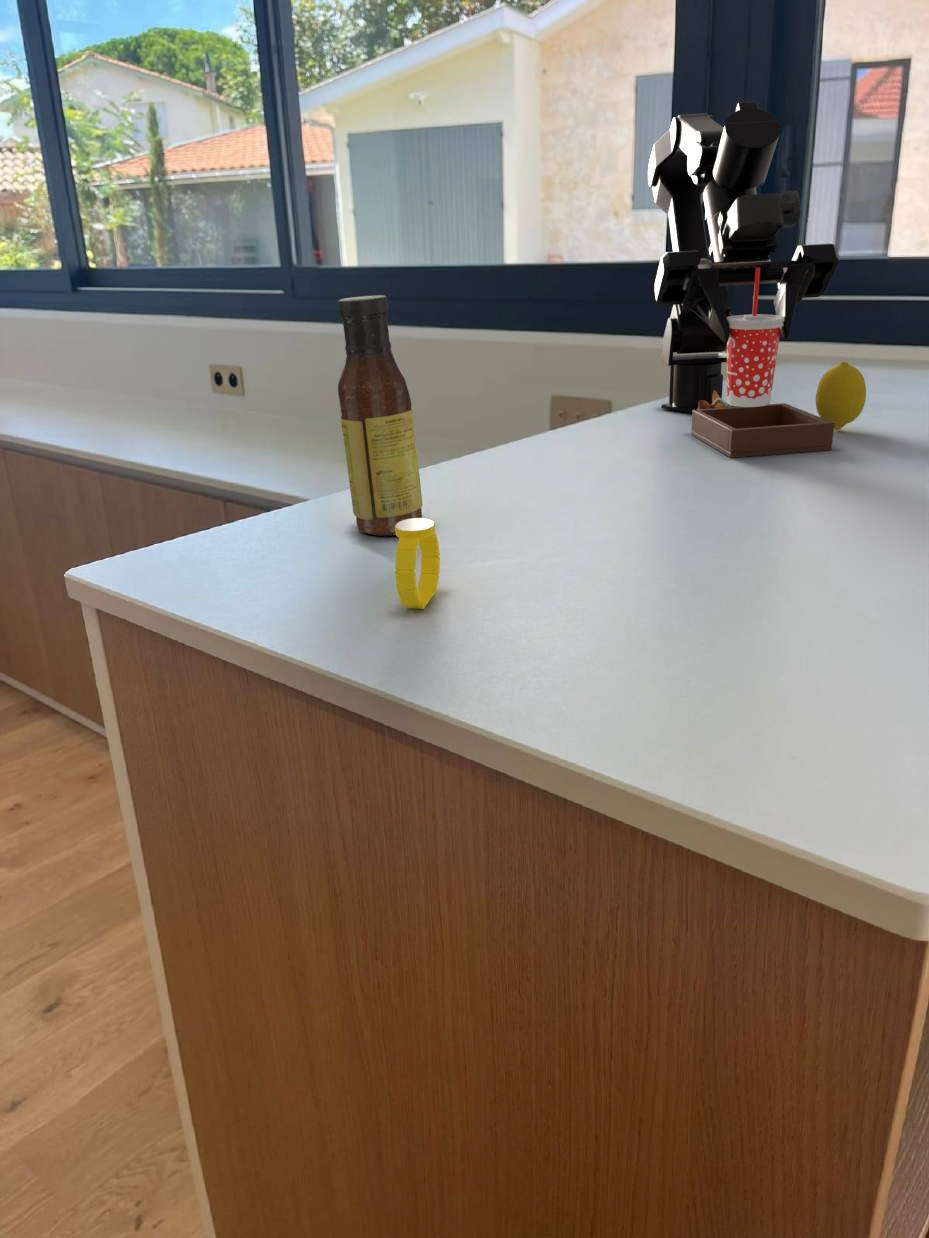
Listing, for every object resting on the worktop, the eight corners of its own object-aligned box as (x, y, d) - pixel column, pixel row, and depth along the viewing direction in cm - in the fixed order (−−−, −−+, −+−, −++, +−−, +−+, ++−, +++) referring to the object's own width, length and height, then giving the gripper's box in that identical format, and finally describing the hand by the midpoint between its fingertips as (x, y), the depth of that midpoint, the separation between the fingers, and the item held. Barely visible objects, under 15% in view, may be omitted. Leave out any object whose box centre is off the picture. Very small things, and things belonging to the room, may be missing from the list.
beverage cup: (724, 396, 108) (732, 266, 102) (780, 398, 106) (791, 264, 100) (714, 407, 103) (723, 270, 97) (773, 409, 100) (785, 269, 95)
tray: (691, 434, 115) (692, 409, 114) (783, 427, 116) (785, 403, 115) (730, 458, 103) (732, 430, 102) (831, 450, 104) (834, 423, 103)
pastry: (765, 411, 125) (767, 384, 124) (744, 429, 116) (746, 400, 114) (712, 409, 129) (714, 382, 127) (688, 427, 119) (689, 398, 118)
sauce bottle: (433, 519, 87) (419, 292, 79) (408, 540, 82) (389, 299, 74) (369, 516, 89) (348, 294, 81) (339, 536, 84) (315, 301, 76)
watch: (415, 586, 71) (410, 510, 69) (450, 588, 71) (446, 511, 68) (389, 616, 66) (381, 535, 64) (426, 618, 65) (421, 536, 63)
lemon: (869, 434, 111) (877, 364, 107) (821, 436, 111) (828, 366, 108) (852, 424, 116) (859, 357, 113) (806, 426, 116) (812, 359, 113)
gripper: (663, 169, 98) (683, 290, 93) (843, 160, 98) (873, 280, 92) (646, 247, 109) (663, 360, 103) (809, 238, 108) (834, 351, 103)
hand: (756, 338), depth 100 cm, fingers closed on beverage cup, 6 cm apart
